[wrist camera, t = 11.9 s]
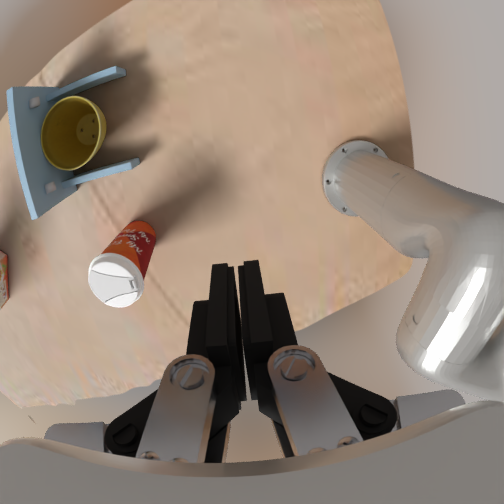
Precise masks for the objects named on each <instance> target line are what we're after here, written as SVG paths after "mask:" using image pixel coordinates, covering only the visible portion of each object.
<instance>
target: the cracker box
mask: <svg viewBox="0 0 504 504" xmlns="http://www.w3.org/2000/svg"><path fill="white" fill-rule="evenodd" d="M8 299H9V294H8V273H7V255H6V254H4V253H3V252H2V251H0V310H1V308H2V307H3V306H4V304H5V303H6V302H7V301H8Z"/></svg>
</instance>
